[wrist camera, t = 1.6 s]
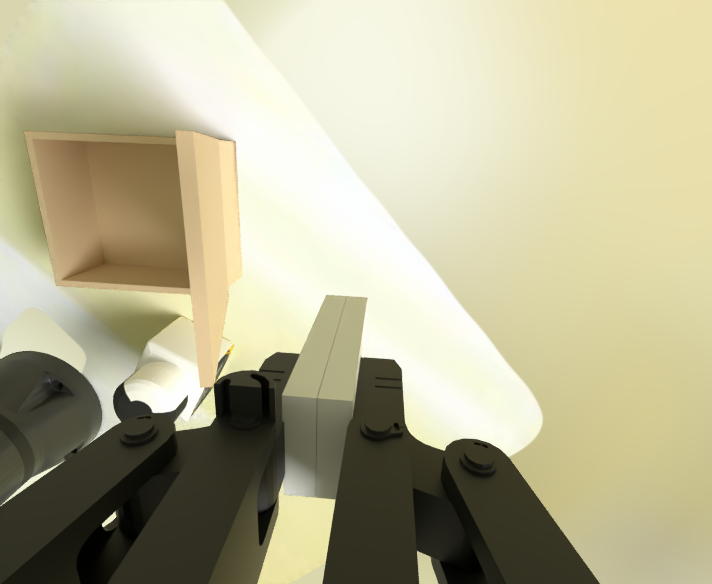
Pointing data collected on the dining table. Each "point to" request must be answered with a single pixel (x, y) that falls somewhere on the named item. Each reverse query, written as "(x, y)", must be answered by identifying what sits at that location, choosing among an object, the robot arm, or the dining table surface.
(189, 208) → the lid
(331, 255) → the dining table surface
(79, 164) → the box
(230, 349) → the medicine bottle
